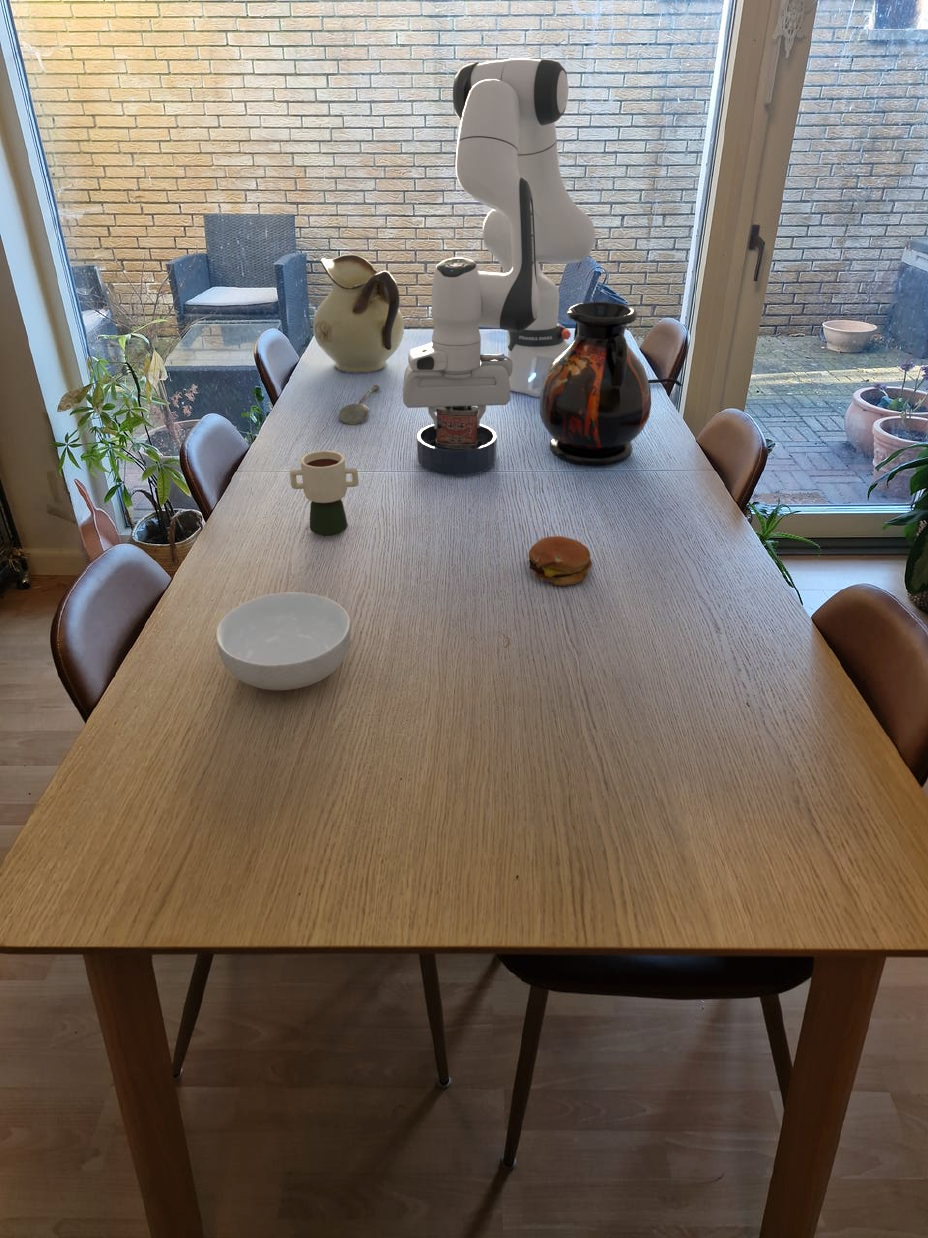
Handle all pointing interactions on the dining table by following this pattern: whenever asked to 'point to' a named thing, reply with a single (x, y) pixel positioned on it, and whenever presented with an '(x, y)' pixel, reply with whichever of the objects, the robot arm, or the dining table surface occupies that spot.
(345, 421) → the soupspoon
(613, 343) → the amphora vase
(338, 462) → the character mug
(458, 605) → the dining table surface
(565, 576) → the burger
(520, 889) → the dining table surface
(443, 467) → the bowl
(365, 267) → the pitcher
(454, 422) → the lighter
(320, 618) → the cereal bowl
